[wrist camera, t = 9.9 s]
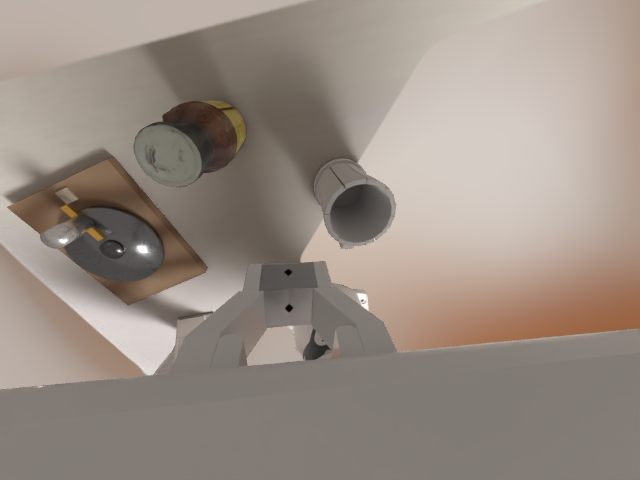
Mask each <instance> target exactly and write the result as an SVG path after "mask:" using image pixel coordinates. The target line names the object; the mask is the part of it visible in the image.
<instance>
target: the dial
mask: <svg viewBox="0 0 640 480" xmlns="http://www.w3.org/2000/svg"><path fill="white" fill-rule="evenodd" d="M61 209H62V210H63V211H64V212H65V213H66V214H68V215H69V217H68V218H67V219H66V220H65V221H64V222H62V223H60V224H58V225H56V226H55V227H53V228H51V229H49V230H47V231H45V232H43V233H42V234H41V235H40V238H41V241H42V242H43V243H44V244H45V245H47V246H49V247H51V248H55V249H60V248H63V247H64V249H65V251H66V252H67V254H68V255H69V256H70V258H71V259H72V260H73V261H74V262H75V263H77V264H78V265H79V266H80V267H82V268H83V269H85V270H86V271H88V272H90V273H92V274H94V275H96V276H99V277H101V278H104V279H108V280H112V281H119V282H134V281H139V280H143V279H145V278H148V277H149V276H151V275H153V274H154V273H155V272H156V271H157V270H158V268H159V267H160V266H161V264H162V263H163V260H164V256H165V249H164V245H163V242H162V240H161V238H160V236H159V235H158V233H157V232H156V231H155V229H154V228H153V227H152V226H151V225H150V224H149V223H147V222H146V221H145V220H143V219H142V218H140V217H139V216H137V215H135V214H133V213H131V212H128V211H126V210H123V209H119V208H115V207H110V206H92V207H88V208H84V209H82V210H79V211H76V210H75V209H74V208H73V207H72V206H70V205H69V204H66V205H64V206H63V207H61Z"/></svg>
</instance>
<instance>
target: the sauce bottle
mask: <svg viewBox="0 0 640 480" xmlns="http://www.w3.org/2000/svg"><path fill="white" fill-rule="evenodd" d="M162 118H163V122H157V123H153V124H151V125H149V126H147V127H145V128H143V129H142V130H140V131H139V133H138V135H137V136H136V138H135V143H134V153H135V155H136V158H137V161H138V163H139V164H140V166H141V168H142V169H143V170H144V171H145V173H146V174H147V175H149V176H150V177H151V178H152V179H153V180H155V181H157V182H158V183H161V184H163V185H166V186H172V187H183V186H187V185H189V184H192V183H193V182H194V181H196V180H197V179H198V178H200V176H201V175H202V174H203V173H209V172H214V171H217V170H219V169H221V168H223V167H224V166H226V165H227V164H228V163H229V162H230V161H231V160H232V159H233V158H234V156H235V154H236V153H237V152H238V150H239V149H240V147H241V146H242V144H243V143H244V140H245V138H246V125H245V122H244V120H243V118H242V116H241V115H240V113H239V112H238V111H237V110H236V109H235V107H233V106H232V105H230V104H228V103H226V102H223V101H219V100H210V101H192V102H188V103H183V104H180V105H178V106H176V107H174V108H172V109H171V110H170V111H169V112H167V113H165V114H164V115H163V117H162Z"/></svg>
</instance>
